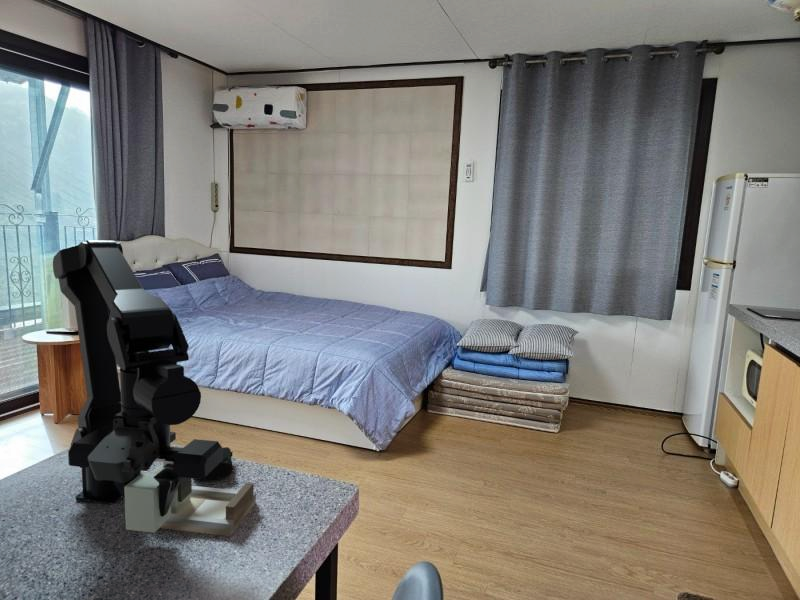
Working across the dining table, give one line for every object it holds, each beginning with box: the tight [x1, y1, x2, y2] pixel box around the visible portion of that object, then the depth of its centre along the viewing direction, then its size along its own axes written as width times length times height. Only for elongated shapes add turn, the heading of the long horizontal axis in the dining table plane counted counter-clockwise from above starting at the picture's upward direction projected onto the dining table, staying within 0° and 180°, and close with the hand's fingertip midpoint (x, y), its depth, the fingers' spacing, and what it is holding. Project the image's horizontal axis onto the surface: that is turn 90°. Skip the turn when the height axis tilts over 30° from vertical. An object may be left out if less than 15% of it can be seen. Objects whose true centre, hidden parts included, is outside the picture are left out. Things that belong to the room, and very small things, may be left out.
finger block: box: [124, 472, 171, 534], centre depth 71 cm, size 4×4×6 cm
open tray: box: [150, 462, 257, 537], centre depth 79 cm, size 14×9×7 cm, turn 83°
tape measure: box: [199, 446, 234, 481], centre depth 92 cm, size 7×7×4 cm
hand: (148, 513), depth 71 cm, fingers closed on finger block, 4 cm apart
